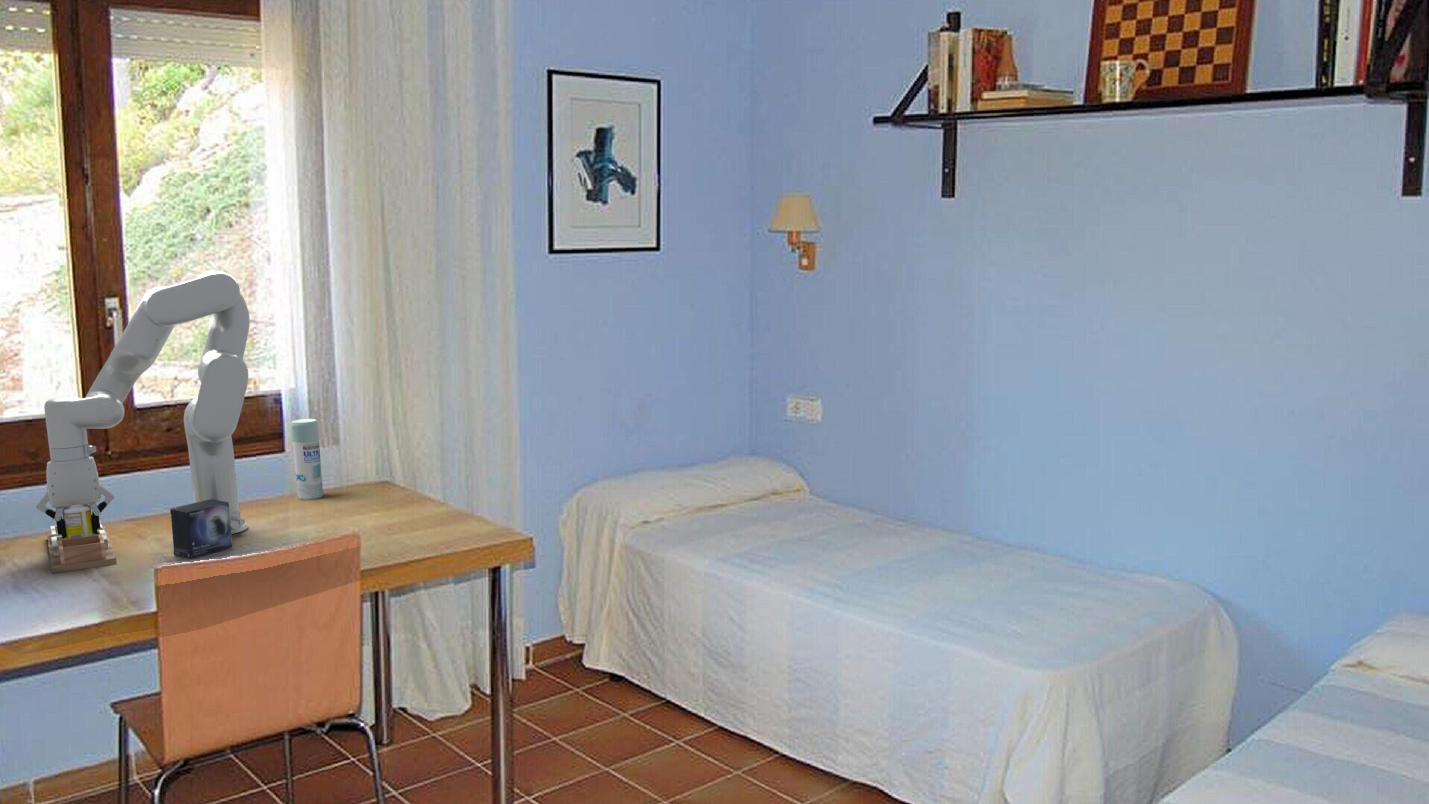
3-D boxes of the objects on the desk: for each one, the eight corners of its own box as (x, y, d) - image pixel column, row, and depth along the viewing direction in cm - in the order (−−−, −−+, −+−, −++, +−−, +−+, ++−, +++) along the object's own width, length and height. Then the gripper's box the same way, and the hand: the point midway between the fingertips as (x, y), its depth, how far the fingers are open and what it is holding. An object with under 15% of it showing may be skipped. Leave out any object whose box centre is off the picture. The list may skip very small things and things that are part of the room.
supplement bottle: (88, 538, 271) (82, 493, 269) (99, 542, 267) (93, 496, 266) (62, 544, 267) (56, 498, 265) (72, 547, 263) (67, 501, 261)
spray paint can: (308, 500, 310) (301, 423, 307) (292, 498, 314) (285, 422, 311) (329, 495, 316) (322, 419, 313) (312, 493, 319) (306, 418, 316)
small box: (191, 559, 258) (186, 511, 256) (172, 556, 261) (167, 508, 260) (234, 547, 267) (229, 500, 265) (215, 544, 270) (211, 498, 268)
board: (116, 563, 257) (114, 541, 256) (52, 573, 251) (49, 551, 250) (105, 531, 286) (102, 511, 285) (47, 539, 280) (44, 519, 279)
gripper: (112, 446, 271) (121, 525, 274) (24, 456, 263) (34, 537, 266) (114, 451, 265) (124, 532, 268) (24, 462, 256) (35, 545, 259)
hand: (79, 534), depth 267 cm, fingers closed on supplement bottle, 5 cm apart
